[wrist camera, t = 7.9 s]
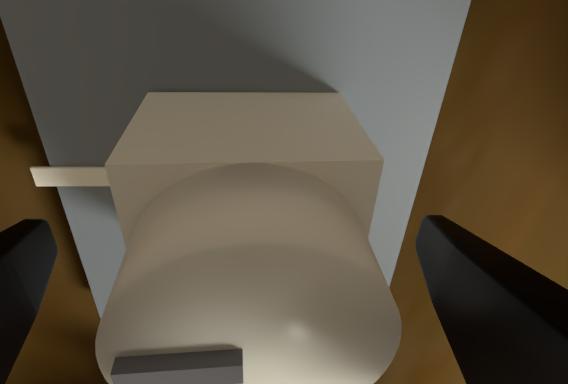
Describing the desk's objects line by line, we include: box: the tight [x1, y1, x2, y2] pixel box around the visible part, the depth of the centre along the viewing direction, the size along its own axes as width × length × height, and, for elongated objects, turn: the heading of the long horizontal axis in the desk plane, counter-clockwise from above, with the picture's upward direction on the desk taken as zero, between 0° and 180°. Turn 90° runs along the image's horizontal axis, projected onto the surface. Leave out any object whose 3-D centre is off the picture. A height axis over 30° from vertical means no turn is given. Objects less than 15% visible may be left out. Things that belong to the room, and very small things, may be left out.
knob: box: [95, 92, 401, 384], centre depth 9 cm, size 5×5×6 cm
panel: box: [0, 0, 471, 318], centre depth 10 cm, size 12×13×5 cm
